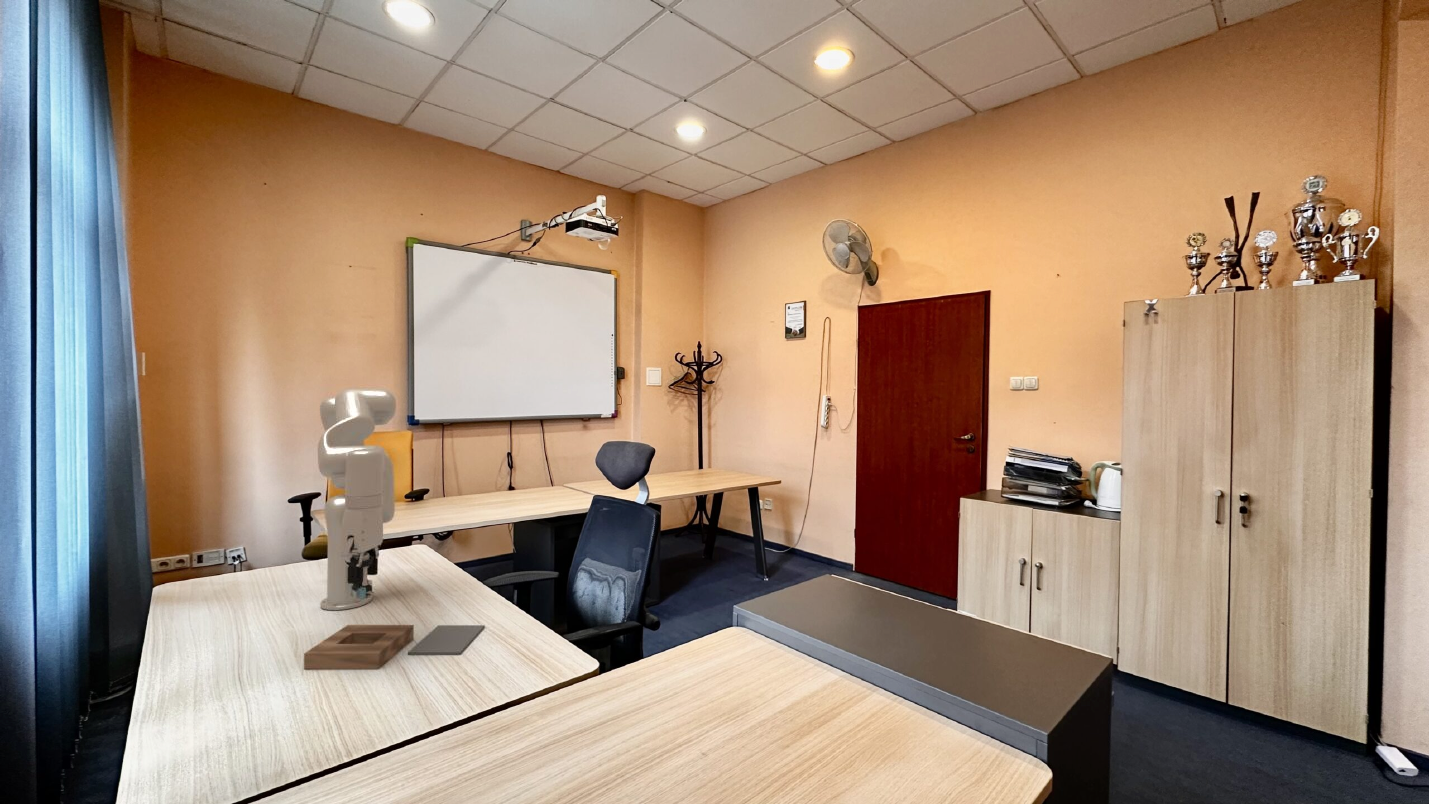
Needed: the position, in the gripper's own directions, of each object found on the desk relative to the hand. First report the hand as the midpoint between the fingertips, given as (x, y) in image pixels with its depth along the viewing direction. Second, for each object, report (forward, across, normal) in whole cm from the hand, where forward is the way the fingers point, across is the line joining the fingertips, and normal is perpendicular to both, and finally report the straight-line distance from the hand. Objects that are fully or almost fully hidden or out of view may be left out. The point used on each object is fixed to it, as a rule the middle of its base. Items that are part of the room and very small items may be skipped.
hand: (362, 578), depth 134 cm
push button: (+5, 0, 0) cm, 5 cm away
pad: (+17, -6, +17) cm, 25 cm away
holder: (+18, 0, 0) cm, 18 cm away
